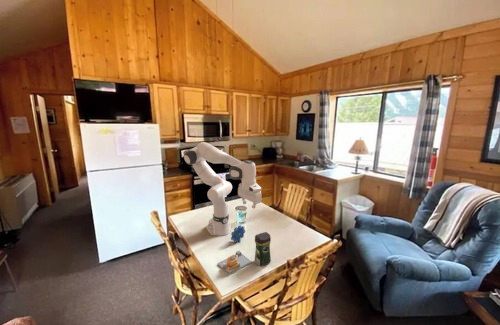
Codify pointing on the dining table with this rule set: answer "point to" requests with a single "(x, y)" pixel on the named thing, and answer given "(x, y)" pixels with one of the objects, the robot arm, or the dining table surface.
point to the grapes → (238, 233)
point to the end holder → (231, 267)
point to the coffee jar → (262, 248)
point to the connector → (231, 261)
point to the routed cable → (238, 254)
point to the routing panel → (241, 259)
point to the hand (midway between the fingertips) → (249, 205)
